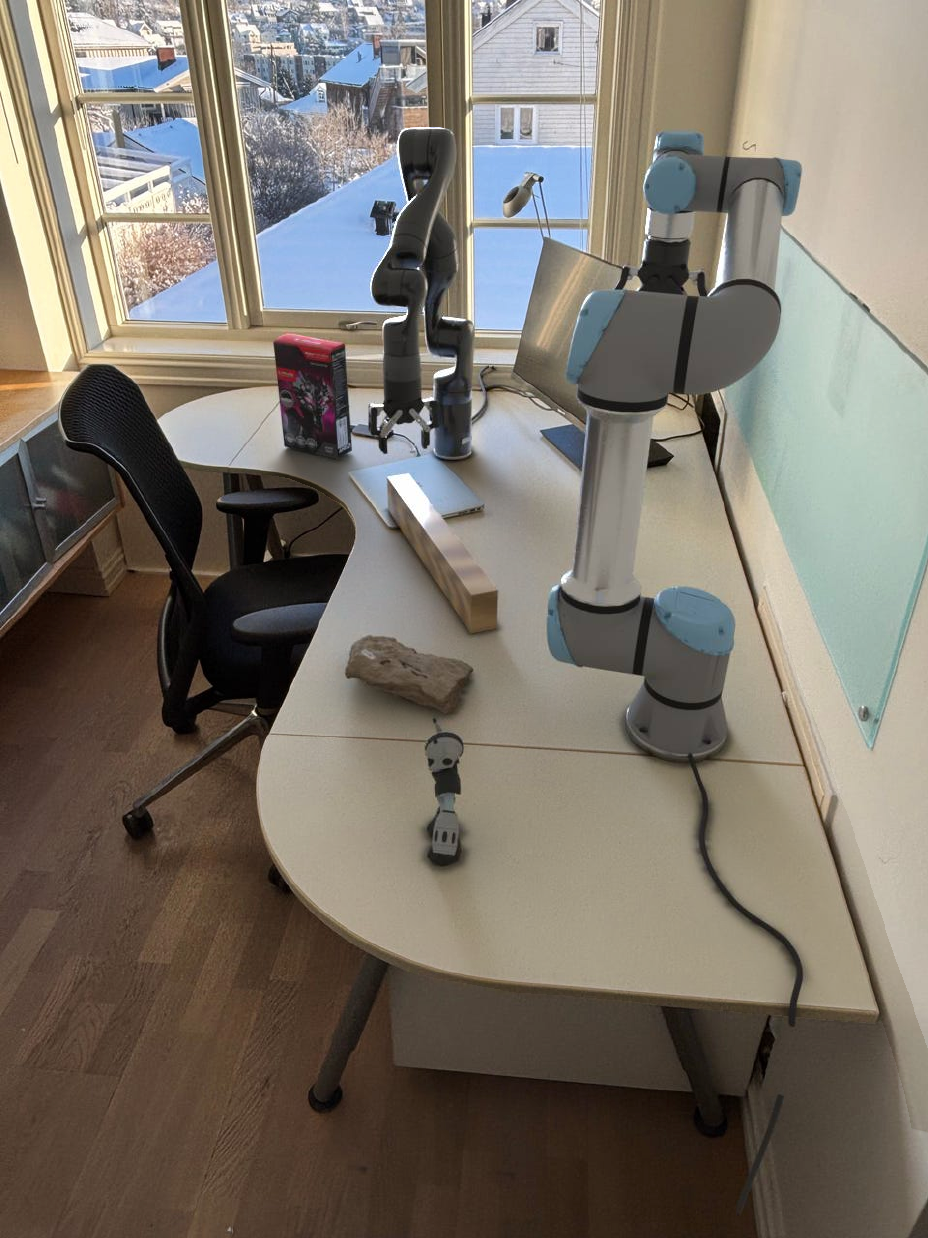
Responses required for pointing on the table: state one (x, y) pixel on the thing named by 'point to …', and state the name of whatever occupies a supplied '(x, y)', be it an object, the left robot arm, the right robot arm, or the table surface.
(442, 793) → the robot
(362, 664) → the stone
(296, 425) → the graphics card box
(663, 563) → the table surface
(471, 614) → the bar
